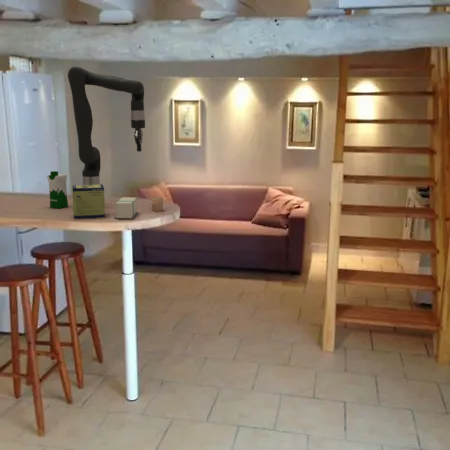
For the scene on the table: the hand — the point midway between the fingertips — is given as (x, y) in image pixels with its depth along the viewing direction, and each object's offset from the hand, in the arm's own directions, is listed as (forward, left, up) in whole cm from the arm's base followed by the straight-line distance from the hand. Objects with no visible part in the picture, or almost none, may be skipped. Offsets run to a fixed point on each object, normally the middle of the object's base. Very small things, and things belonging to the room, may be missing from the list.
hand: (139, 151), depth 291 cm
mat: (-3, -26, -31) cm, 40 cm away
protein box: (-22, -26, -31) cm, 47 cm away
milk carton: (-45, -2, -31) cm, 55 cm away
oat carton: (-3, -17, -27) cm, 32 cm away
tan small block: (+11, -11, -31) cm, 35 cm away
